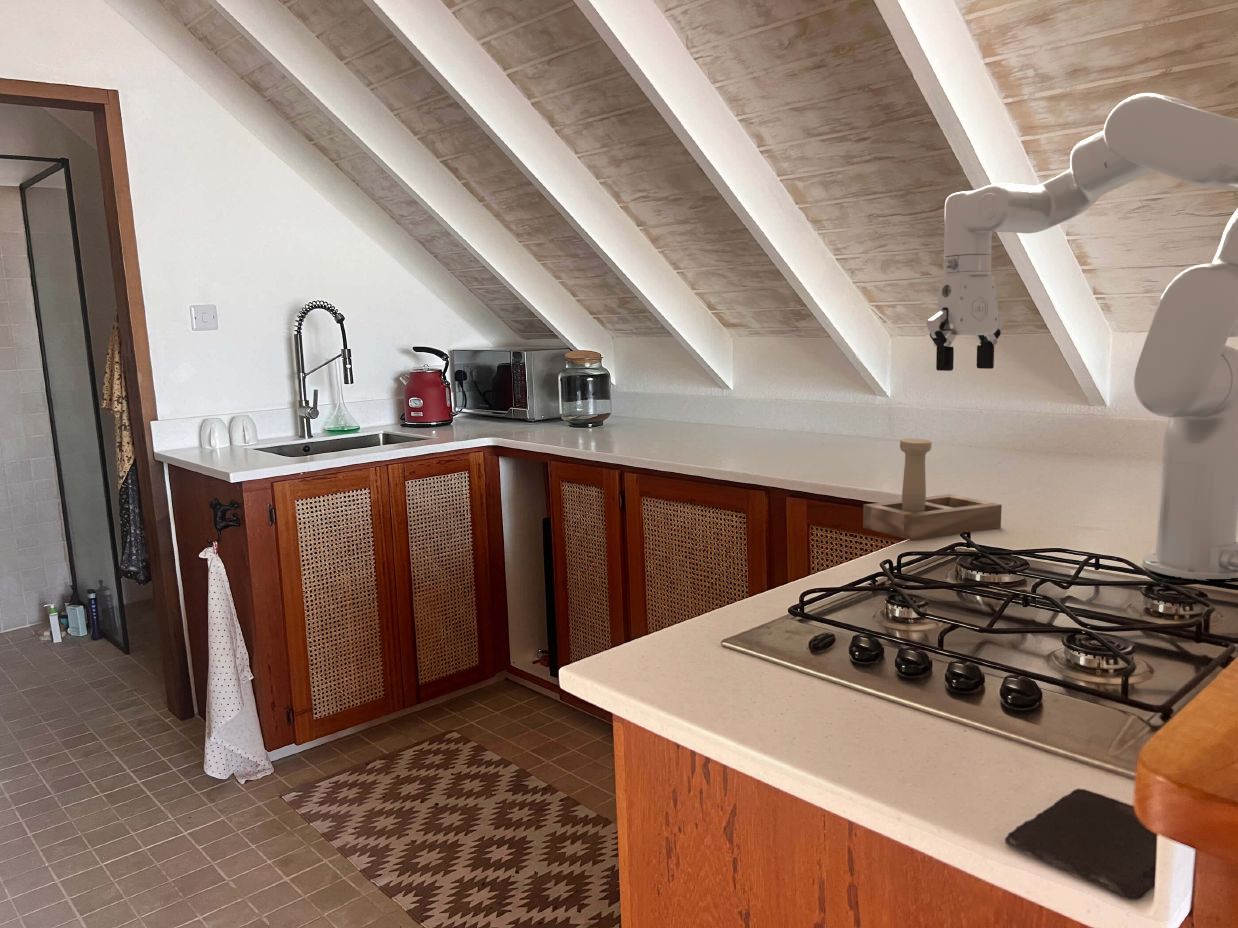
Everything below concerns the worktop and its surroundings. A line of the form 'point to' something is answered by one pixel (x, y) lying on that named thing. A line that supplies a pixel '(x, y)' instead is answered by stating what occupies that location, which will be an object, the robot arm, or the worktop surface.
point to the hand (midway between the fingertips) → (965, 369)
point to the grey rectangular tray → (933, 517)
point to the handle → (914, 474)
